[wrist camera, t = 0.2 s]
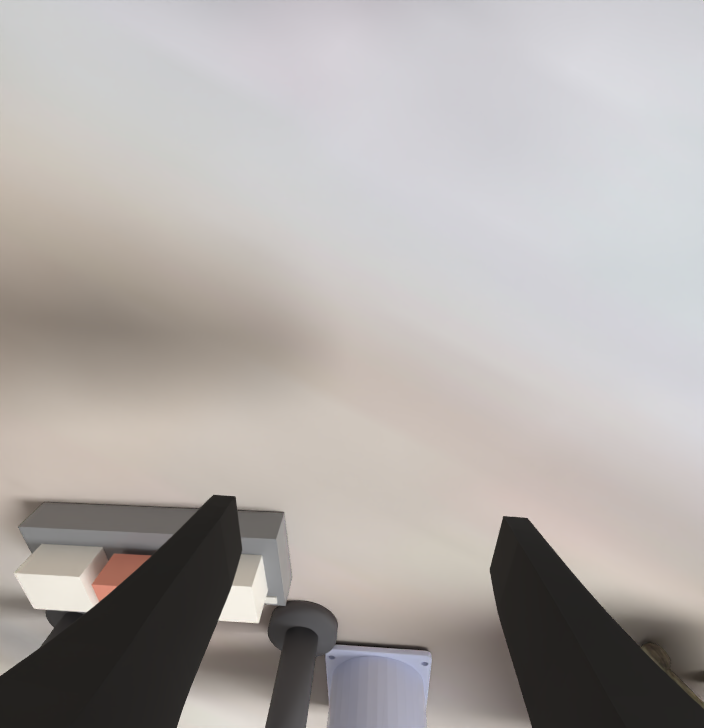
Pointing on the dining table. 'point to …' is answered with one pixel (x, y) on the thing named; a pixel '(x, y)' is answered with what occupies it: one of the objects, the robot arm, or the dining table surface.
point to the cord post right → (297, 658)
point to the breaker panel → (142, 537)
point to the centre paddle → (116, 572)
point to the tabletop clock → (667, 667)
